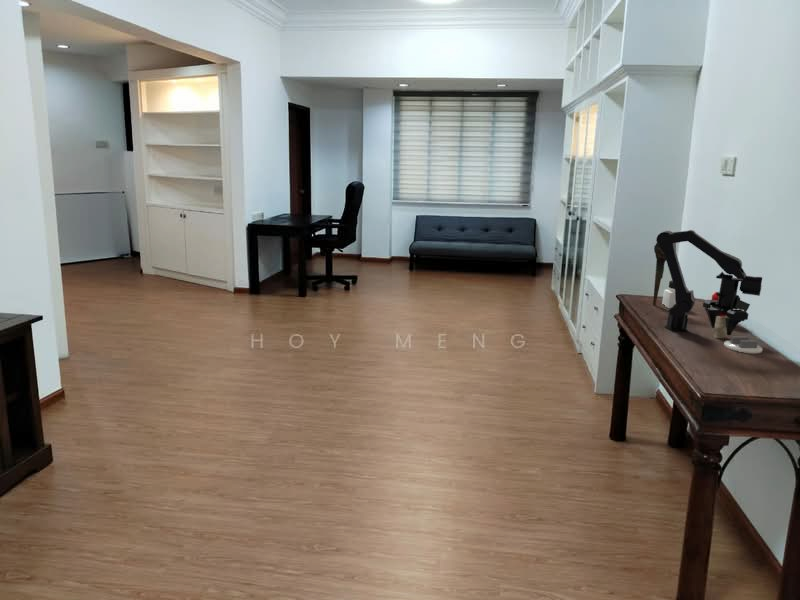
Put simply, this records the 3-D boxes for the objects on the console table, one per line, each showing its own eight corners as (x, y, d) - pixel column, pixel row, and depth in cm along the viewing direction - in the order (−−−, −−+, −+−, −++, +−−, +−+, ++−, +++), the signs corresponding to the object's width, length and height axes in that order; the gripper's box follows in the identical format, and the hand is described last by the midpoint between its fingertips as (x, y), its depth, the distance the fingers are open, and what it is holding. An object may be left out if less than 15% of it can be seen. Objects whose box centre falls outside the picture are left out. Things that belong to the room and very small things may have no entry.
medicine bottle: (684, 308, 269) (688, 282, 267) (668, 308, 270) (672, 282, 267) (677, 305, 276) (681, 279, 274) (661, 304, 276) (665, 278, 274)
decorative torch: (659, 307, 269) (669, 241, 262) (643, 304, 274) (653, 239, 266) (664, 305, 274) (674, 240, 267) (648, 302, 279) (658, 238, 271)
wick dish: (738, 353, 209) (740, 344, 208) (716, 342, 220) (718, 333, 219) (769, 353, 210) (771, 344, 209) (746, 343, 222) (748, 333, 221)
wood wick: (716, 338, 226) (719, 317, 225) (712, 336, 228) (716, 316, 226) (727, 338, 227) (730, 317, 225) (723, 336, 229) (727, 316, 227)
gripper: (765, 297, 215) (757, 339, 219) (732, 286, 233) (724, 324, 237) (736, 297, 214) (729, 339, 218) (705, 285, 232) (698, 324, 236)
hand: (720, 331), depth 227 cm, fingers open, 9 cm apart
